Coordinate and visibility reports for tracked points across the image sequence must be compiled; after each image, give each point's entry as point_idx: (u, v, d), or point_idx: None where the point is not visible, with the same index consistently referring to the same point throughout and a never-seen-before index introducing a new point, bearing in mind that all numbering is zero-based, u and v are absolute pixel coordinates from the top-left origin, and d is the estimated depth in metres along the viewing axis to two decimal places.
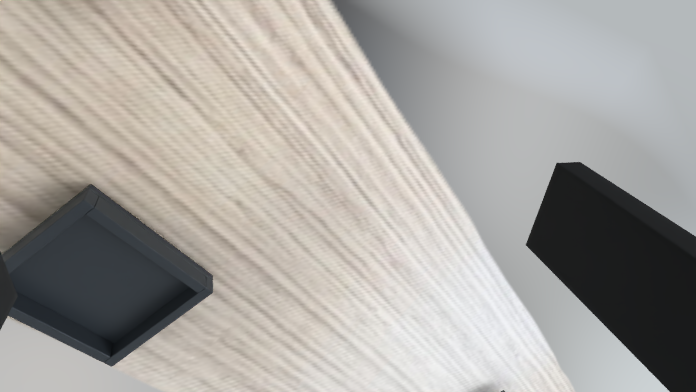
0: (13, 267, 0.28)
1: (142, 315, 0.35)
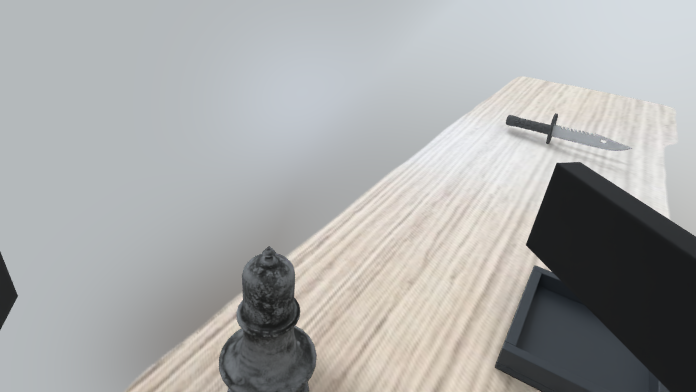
0: None
1: None
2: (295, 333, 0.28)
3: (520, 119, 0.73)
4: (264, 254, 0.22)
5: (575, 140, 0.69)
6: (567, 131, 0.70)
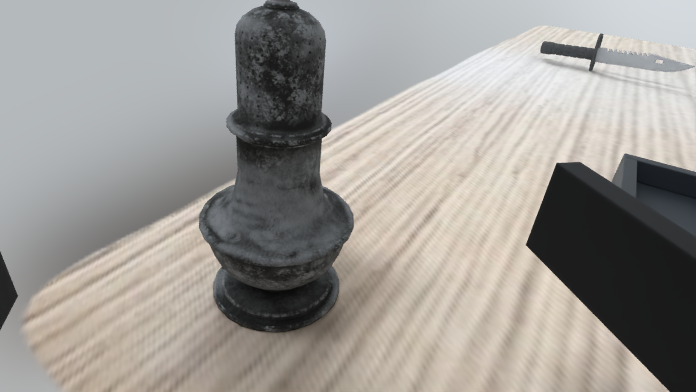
0: None
1: None
2: None
3: (557, 44, 0.64)
4: None
5: (625, 63, 0.60)
6: (615, 53, 0.60)
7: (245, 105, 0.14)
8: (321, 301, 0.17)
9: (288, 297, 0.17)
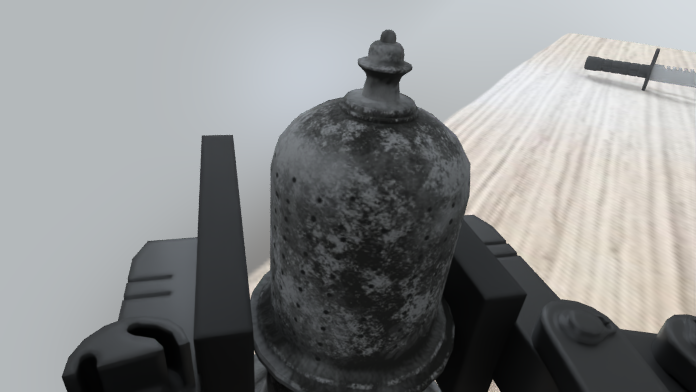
0: None
1: None
2: None
3: (605, 60, 0.56)
4: (370, 63, 0.05)
5: (685, 83, 0.52)
6: (673, 71, 0.53)
7: (292, 315, 0.06)
8: None
9: None
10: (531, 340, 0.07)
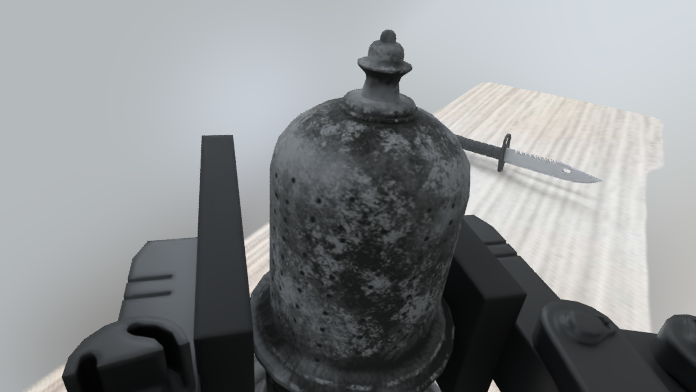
0: None
1: None
2: None
3: (466, 140, 0.58)
4: (369, 63, 0.05)
5: (533, 168, 0.54)
6: (522, 156, 0.55)
7: (291, 316, 0.06)
8: None
9: None
10: (531, 340, 0.07)
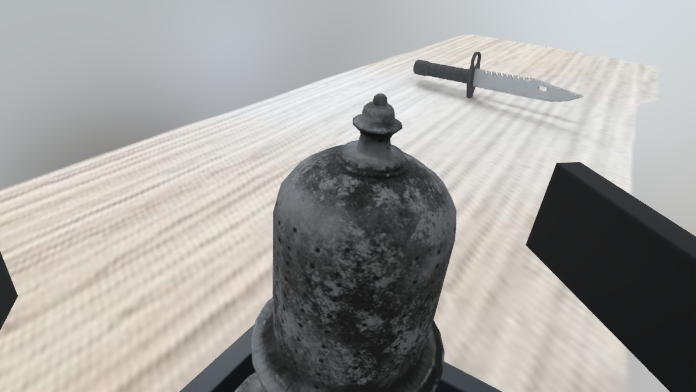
0: None
1: None
2: None
3: (431, 64, 0.52)
4: (363, 124, 0.06)
5: (505, 90, 0.47)
6: (493, 77, 0.48)
7: (293, 347, 0.07)
8: None
9: None
10: None
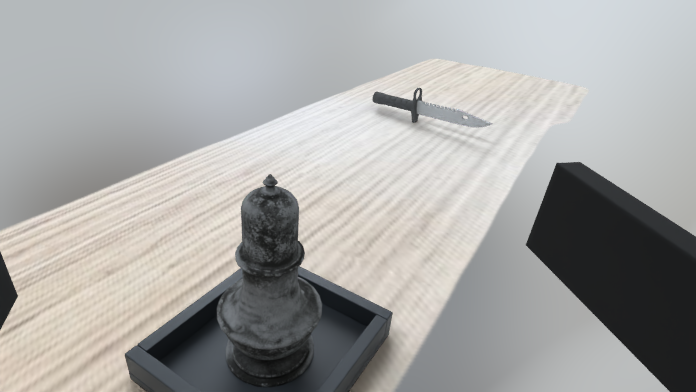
0: None
1: (324, 310, 0.29)
2: (299, 283, 0.26)
3: (386, 96, 0.66)
4: (265, 183, 0.20)
5: (439, 117, 0.62)
6: (430, 107, 0.62)
7: (247, 251, 0.21)
8: (300, 363, 0.25)
9: (277, 361, 0.25)
10: None
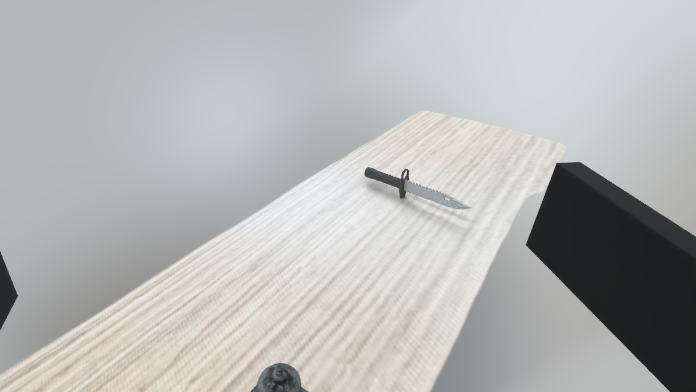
0: None
1: None
2: None
3: (376, 172, 0.73)
4: (275, 371, 0.27)
5: (424, 196, 0.69)
6: (416, 187, 0.69)
7: None
8: None
9: None
10: None
